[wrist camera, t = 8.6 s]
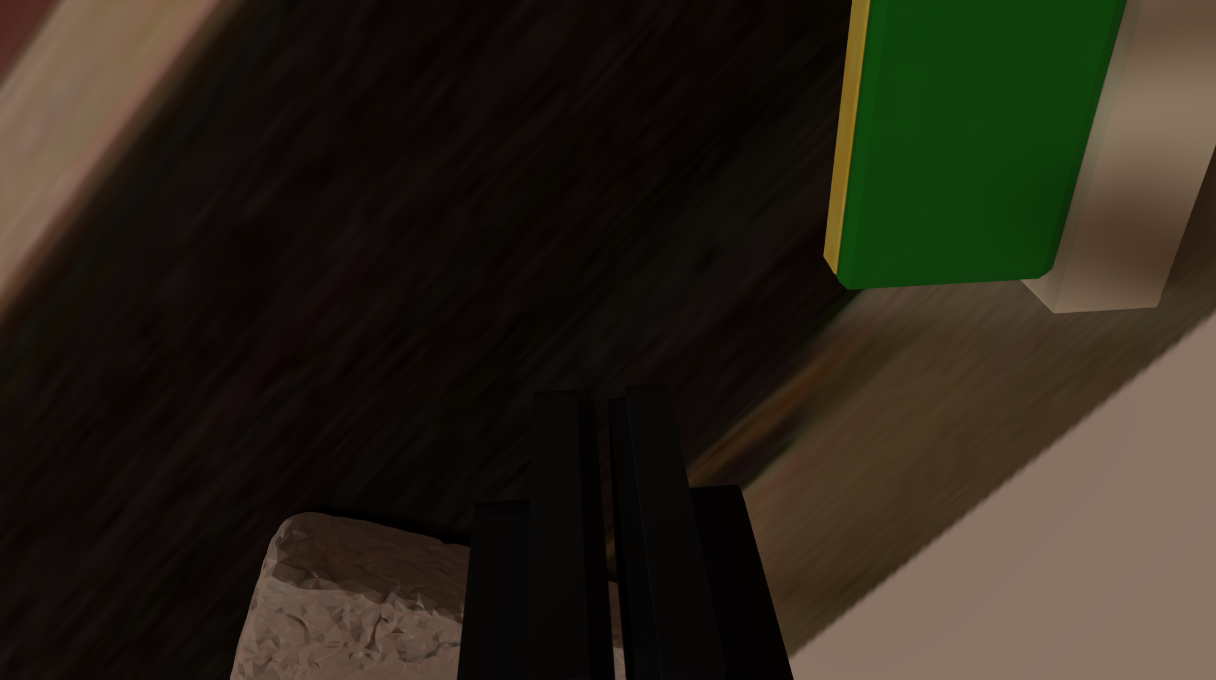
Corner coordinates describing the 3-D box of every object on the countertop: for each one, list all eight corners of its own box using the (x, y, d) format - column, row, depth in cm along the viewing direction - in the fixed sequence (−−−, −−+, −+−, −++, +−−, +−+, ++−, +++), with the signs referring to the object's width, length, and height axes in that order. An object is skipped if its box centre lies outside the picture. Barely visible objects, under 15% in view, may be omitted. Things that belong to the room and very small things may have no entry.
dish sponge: (819, 259, 30) (838, 291, 28) (870, -207, 22) (902, -209, 20) (1016, 247, 30) (1050, 280, 28) (1132, -218, 22) (1191, -222, 20)
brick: (657, 584, 38) (668, 674, 34) (588, 692, 42) (590, 784, 38) (290, 488, 34) (253, 577, 30) (251, 618, 38) (215, 711, 34)
